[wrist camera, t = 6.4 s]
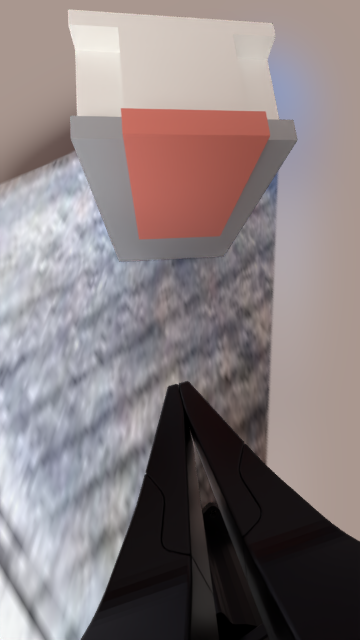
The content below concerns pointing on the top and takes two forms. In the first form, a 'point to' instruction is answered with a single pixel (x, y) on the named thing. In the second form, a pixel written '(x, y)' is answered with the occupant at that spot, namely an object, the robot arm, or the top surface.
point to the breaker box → (167, 93)
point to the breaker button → (189, 167)
